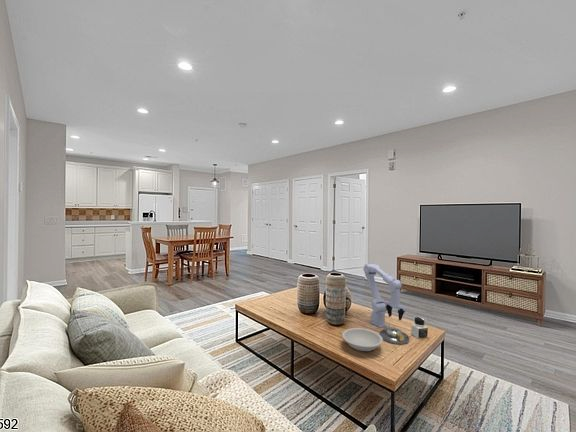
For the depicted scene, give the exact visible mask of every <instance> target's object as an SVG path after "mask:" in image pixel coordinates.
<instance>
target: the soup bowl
mask: <svg viewBox="0 0 576 432" xmlns="http://www.w3.org/2000/svg"><path fill="white" fill-rule="evenodd" d="M341 336H342V339H343V340H344V341H345V342H346V343H347V344H348V345H349V346H350V347H351V348H352V349H355V350H357V351H361V352H369V351H370V352H371V351H373V350H376V348H378V346H380V345H382V344H383V342H384V340H383V338H382V337H381V335H380V333H378V332H376V331H374V330H371V329H368V328H361V327H351V328H347V329H345V330H344V331H342V334H341Z"/></svg>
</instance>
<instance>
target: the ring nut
mask: <svg viewBox="0 0 576 432" xmlns="http://www.w3.org/2000/svg"><path fill="white" fill-rule="evenodd" d="M384 330H386V331H387V335H388V336H389V337H391V338H396V339H398V340H399V341H404V336H403V335H402V332H403V331H402V330H401V329H399V328H397V327H392V326H391V325H390V324H387V325H386V326H384Z"/></svg>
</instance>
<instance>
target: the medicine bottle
mask: <svg viewBox="0 0 576 432" xmlns="http://www.w3.org/2000/svg"><path fill="white" fill-rule="evenodd" d="M425 323H426V321H425V319H424V318H422V317H420V316H419V317H417V316H416V317H415V318H414V323H411V325H410V329H411V330H410V334H411V336H413V337H415V338H416V339H417V340H421V339H422V340H423V339H428V333H429V332H428V331H429V329H428V326H426V325H425Z"/></svg>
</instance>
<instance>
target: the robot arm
mask: <svg viewBox="0 0 576 432" xmlns="http://www.w3.org/2000/svg"><path fill="white" fill-rule="evenodd" d="M363 272H364V274H365V278H366V281H367V284H368V288H369V290H370V293H371V296H372V301H371V309H372V311H371V313H370V322H369V323H370V324H372V325H374V326H376V327H379V328H383V327H384V328H385V326H386V325H388V323H386V322H385V321H386V312H387V313H388V314H387V315H388V317H392V314H393V312H392V311H393V308H394V309H398V310H397V313H398V321H402V318H403V316H404V314H405V312H406V311H407V307H405V306H403V305H401V301H400V300H401V288H402V287H403V283H402V281H401V280H400V279H396V278H395V277H393V276H392V275H391V274H390V273H386V272H385V271H384V270H382V269H381V267H380V265H379V264H378V263H369V264H368V263H367V264H364V266H363ZM376 275H379V276H380V277H381V278H382V280H383V281H384V282H385V283H386V284H387V285H388V287H389V291H390V301H385V299H384V298H382V297H381V293H380V291H379V289H378V286H377V282H376V280H375V276H376Z"/></svg>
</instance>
